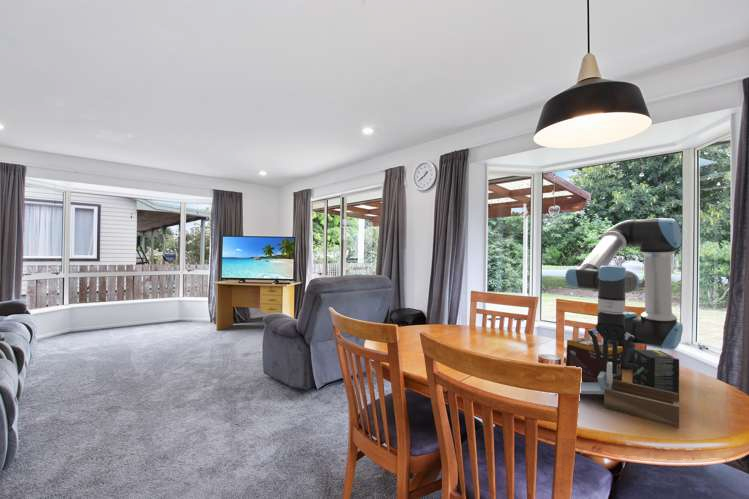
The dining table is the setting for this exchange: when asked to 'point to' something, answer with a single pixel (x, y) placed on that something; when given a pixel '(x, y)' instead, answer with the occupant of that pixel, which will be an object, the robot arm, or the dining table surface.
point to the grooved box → (643, 402)
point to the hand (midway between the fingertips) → (609, 382)
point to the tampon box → (656, 370)
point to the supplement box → (590, 359)
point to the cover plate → (596, 385)
